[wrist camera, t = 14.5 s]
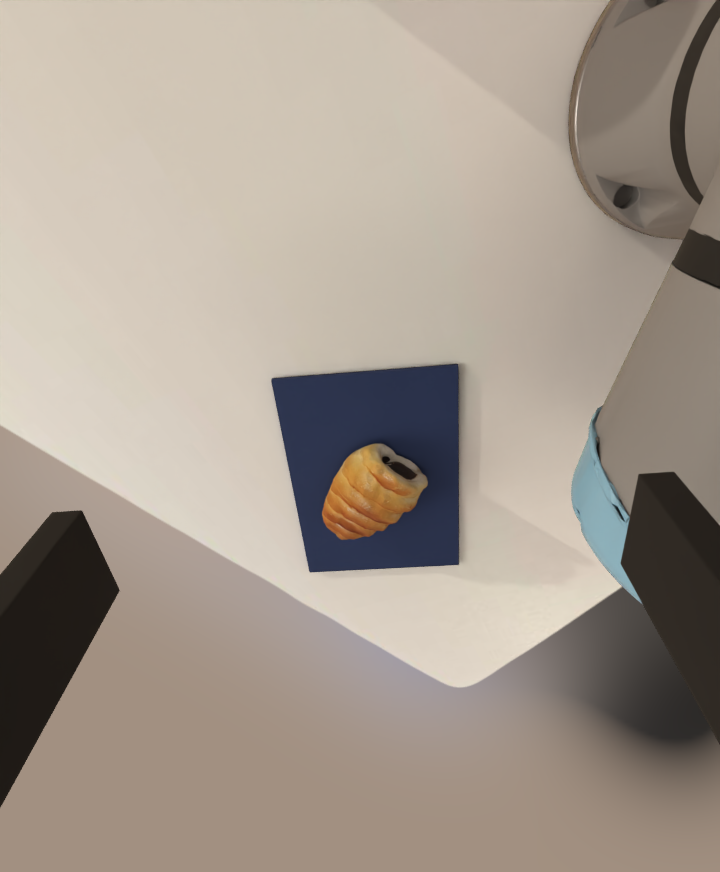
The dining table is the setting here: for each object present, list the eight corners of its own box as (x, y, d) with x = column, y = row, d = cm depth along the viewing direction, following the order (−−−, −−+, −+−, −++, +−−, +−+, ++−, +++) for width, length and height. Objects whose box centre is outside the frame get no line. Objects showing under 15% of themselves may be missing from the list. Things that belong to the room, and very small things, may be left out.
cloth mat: (457, 363, 39) (458, 365, 39) (458, 561, 49) (458, 565, 49) (272, 378, 40) (271, 380, 40) (310, 569, 50) (309, 572, 50)
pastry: (366, 539, 48) (365, 570, 44) (303, 503, 46) (297, 533, 42) (433, 470, 43) (437, 498, 40) (366, 428, 42) (365, 453, 38)
